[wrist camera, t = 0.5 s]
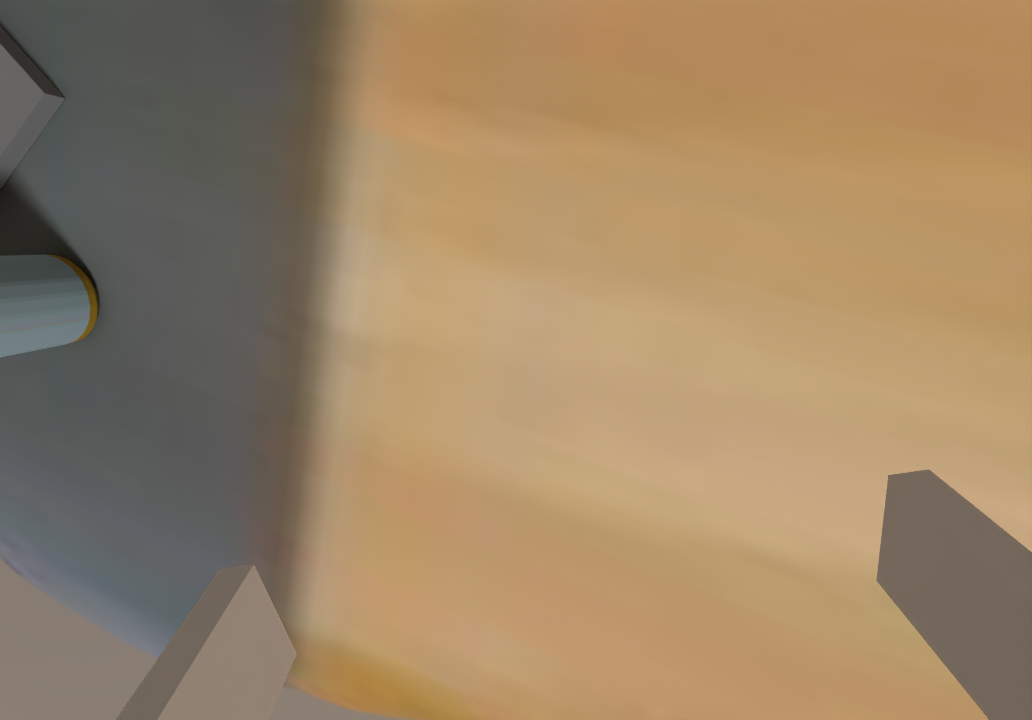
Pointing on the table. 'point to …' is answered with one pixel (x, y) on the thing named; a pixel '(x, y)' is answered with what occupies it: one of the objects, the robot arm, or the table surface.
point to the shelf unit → (21, 104)
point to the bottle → (43, 303)
